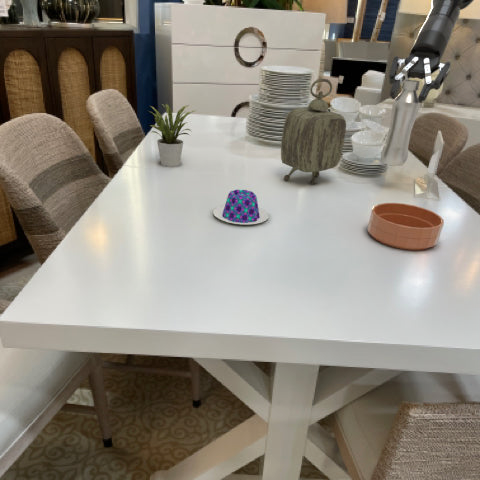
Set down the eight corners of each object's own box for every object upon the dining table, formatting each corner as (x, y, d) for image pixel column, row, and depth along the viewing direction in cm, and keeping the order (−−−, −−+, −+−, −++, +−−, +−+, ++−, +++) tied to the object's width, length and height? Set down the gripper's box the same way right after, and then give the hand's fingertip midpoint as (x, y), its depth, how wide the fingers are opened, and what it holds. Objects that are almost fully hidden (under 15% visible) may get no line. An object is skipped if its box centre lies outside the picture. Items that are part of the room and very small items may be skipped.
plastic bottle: (379, 160, 127) (397, 78, 116) (405, 164, 126) (426, 80, 115) (378, 166, 122) (396, 80, 111) (404, 170, 121) (426, 83, 110)
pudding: (206, 208, 105) (207, 185, 102) (256, 205, 109) (258, 183, 106) (222, 229, 96) (224, 204, 93) (276, 225, 99) (279, 201, 97)
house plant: (202, 159, 138) (204, 99, 129) (198, 173, 127) (199, 107, 118) (154, 155, 138) (152, 94, 129) (145, 169, 126) (142, 102, 117)
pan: (425, 227, 105) (431, 205, 102) (445, 255, 93) (453, 231, 90) (361, 222, 105) (366, 200, 102) (374, 249, 93) (379, 225, 90)
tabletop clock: (316, 174, 134) (332, 76, 120) (339, 183, 128) (358, 81, 114) (276, 180, 127) (288, 76, 113) (298, 190, 121) (314, 82, 107)
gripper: (461, 56, 116) (435, 113, 114) (403, 50, 122) (378, 104, 120) (463, 31, 110) (436, 91, 107) (402, 26, 116) (376, 83, 113)
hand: (406, 98), depth 114 cm, fingers closed on plastic bottle, 6 cm apart
